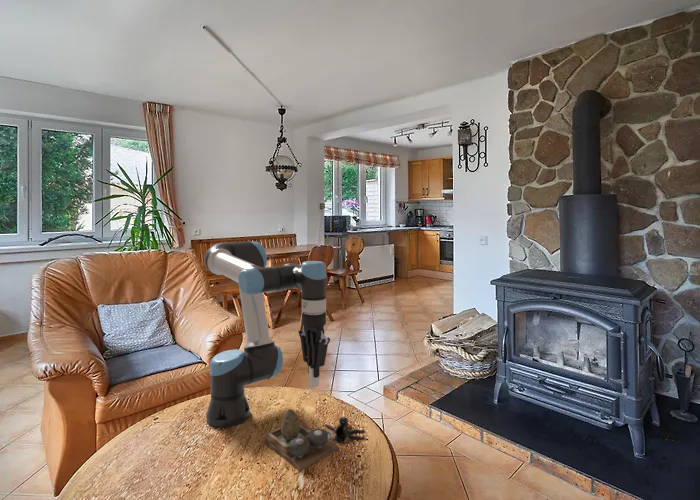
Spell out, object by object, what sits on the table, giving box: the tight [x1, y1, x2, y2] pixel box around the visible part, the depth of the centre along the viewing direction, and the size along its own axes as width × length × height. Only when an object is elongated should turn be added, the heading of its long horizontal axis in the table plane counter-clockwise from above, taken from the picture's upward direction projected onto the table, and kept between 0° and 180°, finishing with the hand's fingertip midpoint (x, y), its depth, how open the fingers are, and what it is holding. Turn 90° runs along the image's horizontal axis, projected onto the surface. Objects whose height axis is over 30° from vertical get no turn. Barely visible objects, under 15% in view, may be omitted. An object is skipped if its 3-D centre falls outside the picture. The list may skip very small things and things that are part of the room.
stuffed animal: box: [324, 415, 366, 445], centre depth 133 cm, size 12×10×12 cm
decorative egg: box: [280, 408, 300, 441], centre depth 126 cm, size 6×6×10 cm
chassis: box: [262, 421, 340, 471], centre depth 125 cm, size 20×15×6 cm
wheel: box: [308, 428, 329, 446], centre depth 123 cm, size 6×6×3 cm
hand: (313, 386), depth 123 cm, fingers closed
